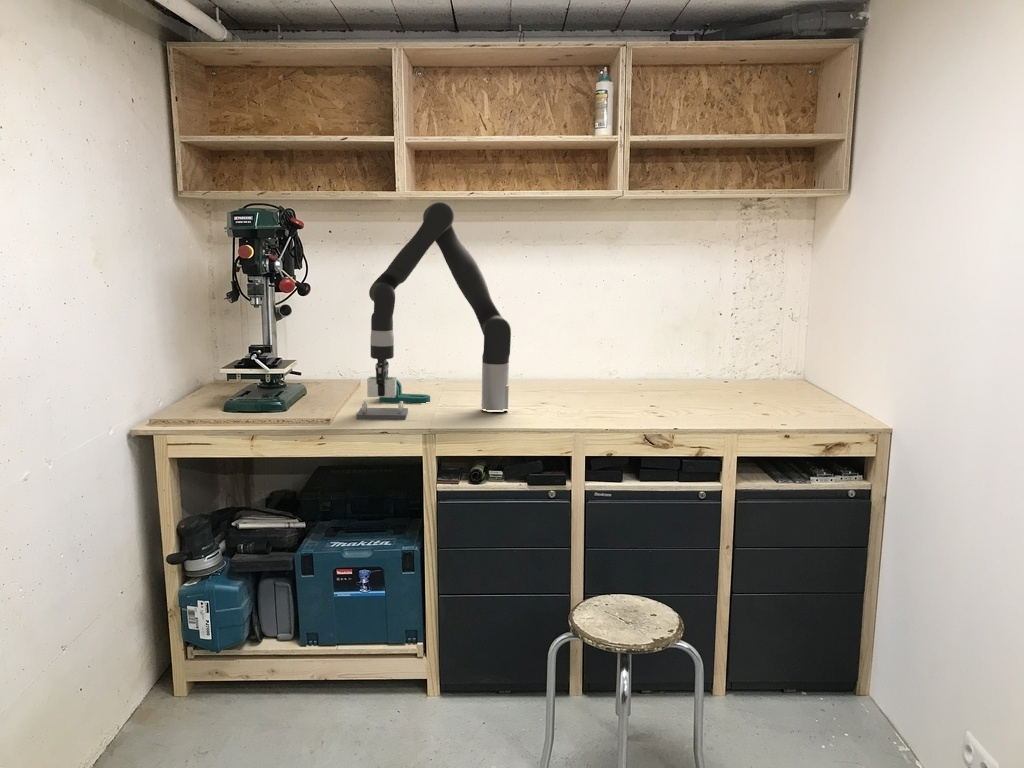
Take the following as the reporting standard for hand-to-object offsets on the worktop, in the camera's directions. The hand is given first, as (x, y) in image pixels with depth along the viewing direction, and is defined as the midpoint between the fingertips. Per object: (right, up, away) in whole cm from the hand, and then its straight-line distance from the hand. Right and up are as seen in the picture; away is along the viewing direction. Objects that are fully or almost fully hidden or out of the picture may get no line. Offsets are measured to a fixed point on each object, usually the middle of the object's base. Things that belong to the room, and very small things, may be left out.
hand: (382, 394), depth 229 cm
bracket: (+4, -3, +24) cm, 24 cm away
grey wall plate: (0, -7, +1) cm, 7 cm away
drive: (0, -1, 0) cm, 1 cm away
